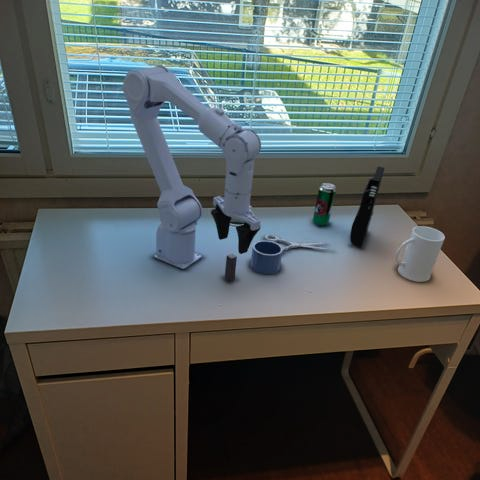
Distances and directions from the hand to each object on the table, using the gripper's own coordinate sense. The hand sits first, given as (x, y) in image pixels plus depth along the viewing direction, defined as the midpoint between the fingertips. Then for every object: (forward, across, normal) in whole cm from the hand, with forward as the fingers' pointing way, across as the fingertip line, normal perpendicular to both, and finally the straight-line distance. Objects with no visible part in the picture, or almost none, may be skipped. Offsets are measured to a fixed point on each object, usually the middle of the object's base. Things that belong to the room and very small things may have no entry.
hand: (232, 245), depth 110 cm
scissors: (+9, +3, -26) cm, 28 cm away
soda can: (+10, +11, -44) cm, 46 cm away
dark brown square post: (+9, 0, 0) cm, 9 cm away
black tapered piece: (+10, -2, -47) cm, 48 cm away
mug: (+10, -22, -43) cm, 50 cm away
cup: (+9, 0, -12) cm, 15 cm away
